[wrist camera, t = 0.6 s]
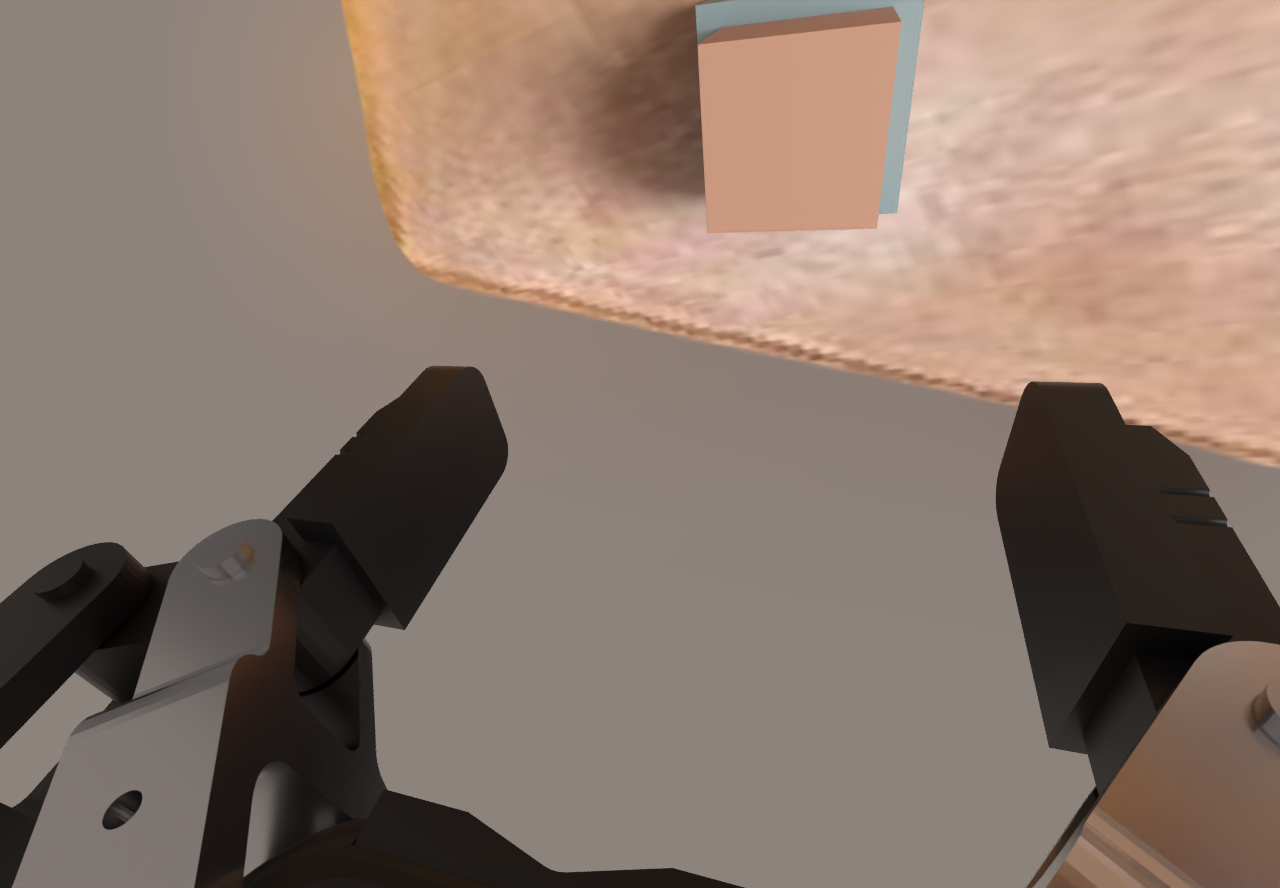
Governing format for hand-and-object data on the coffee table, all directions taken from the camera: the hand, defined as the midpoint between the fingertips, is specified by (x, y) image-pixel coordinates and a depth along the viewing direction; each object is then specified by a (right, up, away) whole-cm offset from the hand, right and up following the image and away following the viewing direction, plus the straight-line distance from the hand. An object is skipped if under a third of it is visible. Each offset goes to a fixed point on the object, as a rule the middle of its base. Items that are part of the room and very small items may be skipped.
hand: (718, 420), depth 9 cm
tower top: (+5, +13, +15) cm, 20 cm away
